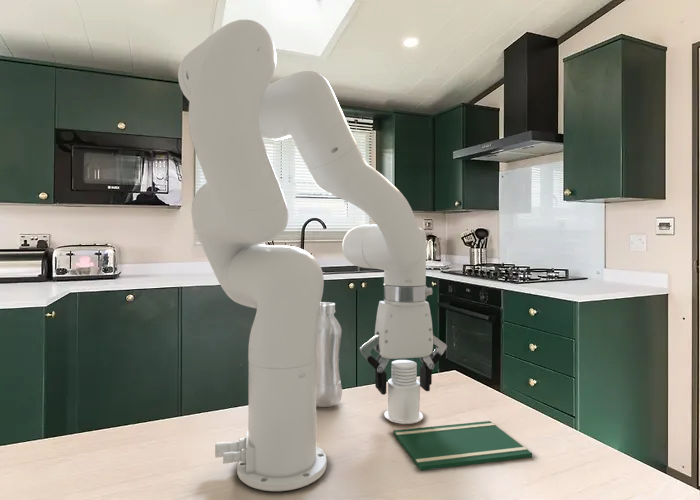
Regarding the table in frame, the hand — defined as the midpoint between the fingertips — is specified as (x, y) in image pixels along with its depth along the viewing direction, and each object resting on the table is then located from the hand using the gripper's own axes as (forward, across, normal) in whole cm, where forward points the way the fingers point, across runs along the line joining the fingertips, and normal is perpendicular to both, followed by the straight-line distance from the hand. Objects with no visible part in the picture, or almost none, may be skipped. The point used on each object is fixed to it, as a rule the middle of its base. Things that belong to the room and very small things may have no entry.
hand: (403, 389), depth 81 cm
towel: (+5, -5, +12) cm, 14 cm away
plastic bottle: (+5, +13, -9) cm, 17 cm away
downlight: (+5, 0, 0) cm, 5 cm away
